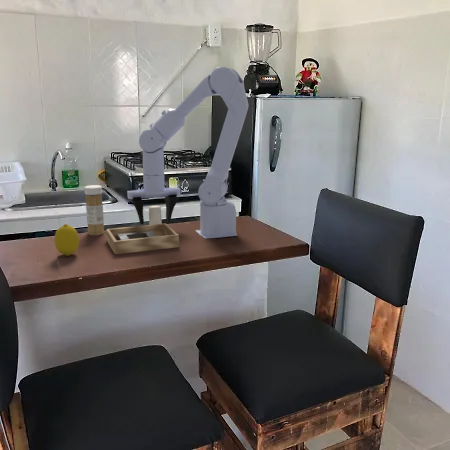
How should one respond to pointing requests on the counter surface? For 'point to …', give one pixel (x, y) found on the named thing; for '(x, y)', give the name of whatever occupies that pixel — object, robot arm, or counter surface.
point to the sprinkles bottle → (94, 209)
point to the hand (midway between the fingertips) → (155, 222)
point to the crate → (143, 239)
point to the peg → (154, 215)
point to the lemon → (66, 240)
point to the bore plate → (135, 235)
